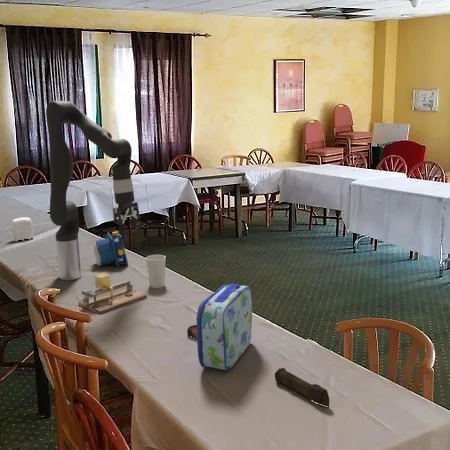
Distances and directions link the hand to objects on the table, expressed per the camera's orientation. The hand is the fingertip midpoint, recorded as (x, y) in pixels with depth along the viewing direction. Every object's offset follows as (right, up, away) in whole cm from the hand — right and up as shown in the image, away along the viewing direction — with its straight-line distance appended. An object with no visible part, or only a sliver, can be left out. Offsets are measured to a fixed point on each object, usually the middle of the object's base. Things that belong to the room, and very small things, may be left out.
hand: (128, 230), depth 236 cm
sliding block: (-7, -26, -9) cm, 28 cm away
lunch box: (+39, -38, -55) cm, 77 cm away
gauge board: (-5, -27, -8) cm, 29 cm away
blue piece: (-15, -16, +40) cm, 46 cm away
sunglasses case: (+36, -34, -39) cm, 63 cm away
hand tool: (+59, -43, -78) cm, 107 cm away
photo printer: (-72, -6, +88) cm, 114 cm away
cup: (+10, -23, +9) cm, 27 cm away
